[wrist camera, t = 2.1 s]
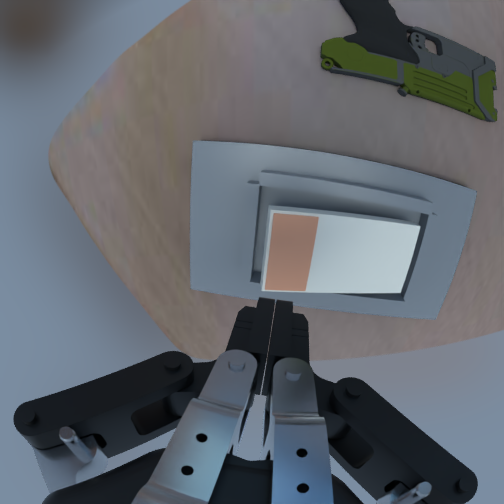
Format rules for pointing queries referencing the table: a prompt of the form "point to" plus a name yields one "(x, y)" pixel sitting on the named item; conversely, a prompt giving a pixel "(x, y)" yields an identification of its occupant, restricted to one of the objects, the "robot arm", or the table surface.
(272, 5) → the table surface
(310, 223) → the rocker
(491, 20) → the table surface
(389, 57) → the gun
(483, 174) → the table surface
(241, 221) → the panel
